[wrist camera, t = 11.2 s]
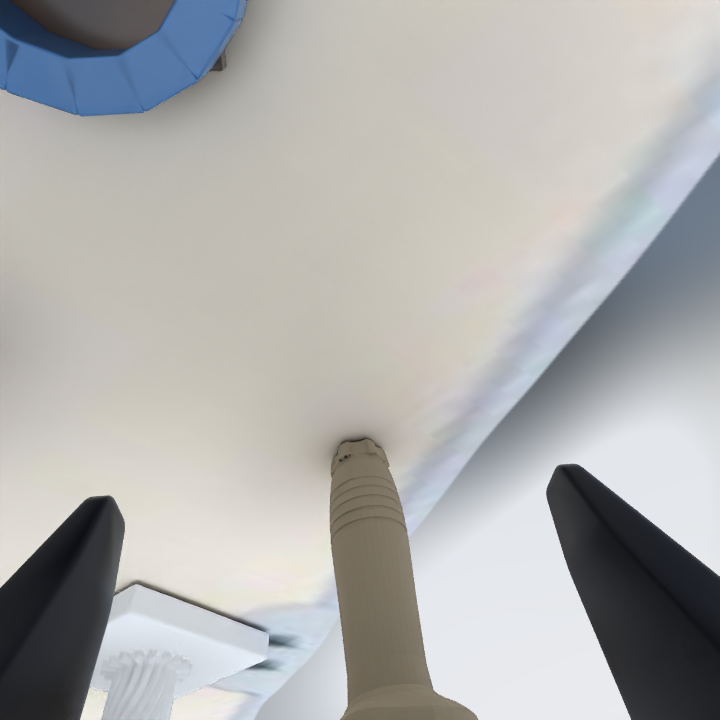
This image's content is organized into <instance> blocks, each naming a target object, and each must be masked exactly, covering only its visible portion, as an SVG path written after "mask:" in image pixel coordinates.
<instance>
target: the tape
mask: <svg viewBox="0 0 720 720" xmlns="http://www.w3.org/2000/svg"><path fill="white" fill-rule="evenodd" d="M246 4H247V0H175V1H174V2H173V4H172V6H171V8H170V9H169V11H168V13H167V15H166V16H165V18H164V20H163V22H162V24H161V25H160V27H159V29H158V31H156V32H155V33H153V34H151V35H150V36H148V37H146V38H145V39H143V40H142V41H140V42H138V43H137V44H135V45H133V46H132V47H130V48H125V49H105V50H96V49H93V48H90V47H88V46H85V45H82V44H80V43H77V42H74V41H72V40H69V39H66V38H64V37H61V36H58V35H56V34H53V33H50V32H49V31H48V30H47V29H45V28H44V27H43V26H41V25H40V24H39V23H38V22H36V21H35V20H34V19H33V18H31V17H30V16H29V15H28V14H26V13H25V12H24V11H22V10H21V9H20V8H19V7H17V6H16V5H15V4H14V3H12V2H11V1H10V0H0V88H1V89H2V90H7V92H9V93H11V94H14V95H17V96H20V97H23V98H26V99H29V100H32V101H35V102H38V103H41V104H44V105H47V106H50V107H53V108H56V109H59V110H62V111H65V112H68V113H71V114H74V115H78V114H79V115H80V116H96V115H113V114H130V113H143V112H144V111H149V110H150V109H152V108H154V107H155V106H157V105H159V104H161V103H162V102H164V101H166V100H167V99H169V98H171V97H173V96H174V95H176V94H178V93H179V92H181V91H183V90H185V89H186V88H188V87H190V86H191V85H193V84H195V83H196V82H198V81H199V80H200V79H201V78H202V77H203V76H204V75H206V74H207V73H208V72H209V70H210V69H212V68H213V66H214V64H215V63H216V61H217V60H218V58H219V57H220V55H221V53H222V52H223V50H224V49H225V47H226V46H227V44H228V43H229V41H230V39H231V38H232V36H233V35H234V33H235V32H236V30H237V28H238V27H239V25H240V24H241V22H242V17H244V14H245V9H246Z"/></svg>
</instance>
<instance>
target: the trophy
mask: <svg viewBox="0 0 720 720" xmlns="http://www.w3.org/2000/svg"><path fill="white" fill-rule="evenodd" d="M268 643H269V634H268V633H266V632H263V631H260V630H257V629H255V628H252V627H249V626H246V625H244V624H241V623H239V622H236V621H233V620H231V619H228V618H226V617H223V616H220V615H218V614H215V613H213V612H210V611H207V610H205V609H202V608H199V607H197V606H195V605H192V604H189V603H186V602H183V601H181V600H178V599H176V598H173V597H170V596H167V595H165V594H162V593H159V592H157V591H154V590H151V589H149V588H146V587H143V586H141V585H137V584H136V585H132V586H131V587H129V588H127V589H126V590H124V591H122V592H120V593H119V594H117V595H115V596H114V597H113V602H112V607H111V612H110V615H109V619H108V623H107V627H106V630H105V634H104V637H103V641H102V644H101V648H100V651H99V655H98V658H97V662H96V665H95V669H94V672H93V676H92V679H91V683H90V686H89V687H90V688H94V689H98V690H102V691H106V692H109V693H108V697H107V700H106V704H105V707H104V711H103V716H102V719H101V720H169V719H170V715H171V710H172V704H173V700H174V699H177V698H179V697H181V696H183V695H186V694H188V693H191V692H193V691H195V690H197V689H200V688H202V687H204V686H206V685H209V684H211V683H213V682H216V681H218V680H220V679H223V678H225V677H227V676H229V675H232V674H234V673H236V672H239V671H241V670H243V669H246V668H248V667H250V666H253V665H255V664H258V663H260V662H262V661H264V660H266V659H267V658H268Z"/></svg>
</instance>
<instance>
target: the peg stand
mask: <svg viewBox="0 0 720 720" xmlns="http://www.w3.org/2000/svg"><path fill="white" fill-rule="evenodd" d="M10 1H11V2H12V3H14V4H15V5H16V6H17V7H19V8H20V9H21V10H22V11H24V12H25V13H26V14H28V15H29V16H30V17H31V18H33V19H34V20H35V21H36V22H38V23H39V24H40V25H41V26H43V27H44V28H45V29H47V30H48V31H49V32H50V33H53V34H56V35H58V36H61V37H64V38H66V39H69V40H72V41H74V42H77V43H80V44H82V45H85V46H88V47H90V48H93V49H96V50H105V49H125V48H130V47H132V46H133V45H135V44H137V43H138V42H140V41H142V40H143V39H145V38H146V37H148V36H150V35H151V34H153V33H155V32H156V31H158V29H159V27H160V25H161V24H162V22H163V20H164V18H165V16H166V15H167V13H168V11H169V9H170V8H171V6H172V4H173V2H174V1H175V0H10ZM225 68H226V59H225V51H224V50H223V52H222V53H221V55H220V57H219V58H218V60H217V61H216V63H215V64H214V66H213V68H212V69H210V70H209V71H222V70H224V69H225Z"/></svg>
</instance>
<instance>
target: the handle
mask: <svg viewBox="0 0 720 720" xmlns="http://www.w3.org/2000/svg"><path fill="white" fill-rule="evenodd" d="M388 467H389V463H388V460H387V457H386V454H385V452H384V450H383V449H382V448H379V447H377V446H375V444H374V442H373V441H372V440H369V439H364V440H362V441H357V442H348V441H347V442H345V443H343V444H342V445H340V446H339V449H338V455H337V456H336V457H334V458H333V460H332V465H331V477H332V482H331V493H330V533H331V545H332V547H331V549H332V557H333V564H334V572H335V579H336V587H337V595H338V602H339V610H340V618H341V626H342V635H343V644H344V652H345V661H346V670H347V686H348V687H347V688H348V707H347V709H346V711H345V713H344V715H343V717H342V718H341V719H340V720H478V718H477V716H476V715H475V714H474V713H473V712H472V711H470V710H469V709H468V708H466V707H464V706H463V705H461V704H459V703H457V702H455V701H453V700H450V699H448V698H444V697H443V696H441V695H438V694H437V693H436V692H435V691H434V690H433V686H432V683H431V679H430V675H429V672H428V668H427V664H426V658H425V651H424V645H423V638H422V632H421V625H420V619H419V612H418V606H417V599H416V592H415V584H414V577H413V570H412V562H411V555H410V547H409V540H408V535H407V528H406V524H405V519H404V514H403V511H402V506H401V502H400V499H399V495H398V492H397V489H396V486H395V483H394V480H393V478H392V475H391V473H390V471H389V469H388Z"/></svg>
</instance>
